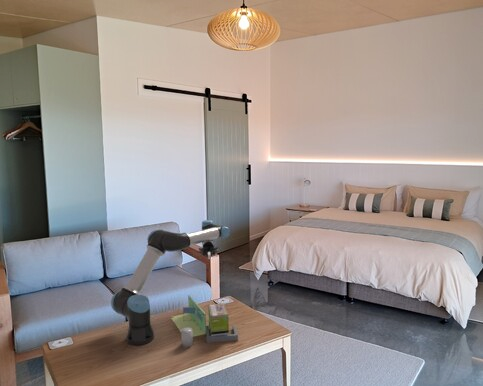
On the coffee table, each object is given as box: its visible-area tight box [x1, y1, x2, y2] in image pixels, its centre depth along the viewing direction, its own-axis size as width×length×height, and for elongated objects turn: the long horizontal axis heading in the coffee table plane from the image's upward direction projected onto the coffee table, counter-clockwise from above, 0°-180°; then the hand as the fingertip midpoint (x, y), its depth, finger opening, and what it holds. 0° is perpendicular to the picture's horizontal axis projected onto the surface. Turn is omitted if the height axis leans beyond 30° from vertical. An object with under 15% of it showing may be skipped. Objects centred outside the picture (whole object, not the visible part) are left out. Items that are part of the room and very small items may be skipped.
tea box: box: [207, 303, 230, 336], centre depth 223 cm, size 15×10×15 cm
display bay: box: [205, 323, 239, 344], centre depth 222 cm, size 17×14×3 cm
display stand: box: [170, 294, 207, 338], centre depth 234 cm, size 30×12×12 cm, turn 26°
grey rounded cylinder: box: [180, 328, 194, 348], centre depth 213 cm, size 6×6×8 cm
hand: (209, 257), depth 241 cm, fingers closed
